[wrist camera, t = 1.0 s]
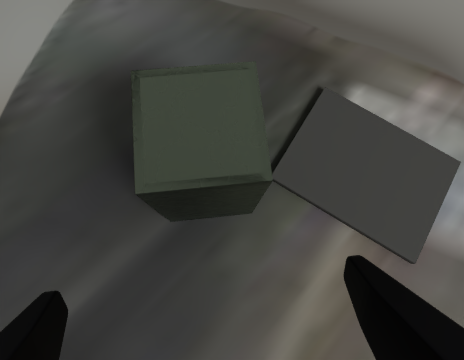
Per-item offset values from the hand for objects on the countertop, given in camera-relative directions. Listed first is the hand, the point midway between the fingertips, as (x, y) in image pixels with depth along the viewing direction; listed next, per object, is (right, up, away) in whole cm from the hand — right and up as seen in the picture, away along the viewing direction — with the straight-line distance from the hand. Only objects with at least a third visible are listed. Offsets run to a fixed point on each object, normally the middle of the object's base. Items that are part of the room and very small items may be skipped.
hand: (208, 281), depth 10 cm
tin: (-1, +3, +14) cm, 15 cm away
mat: (+11, +4, +15) cm, 19 cm away
